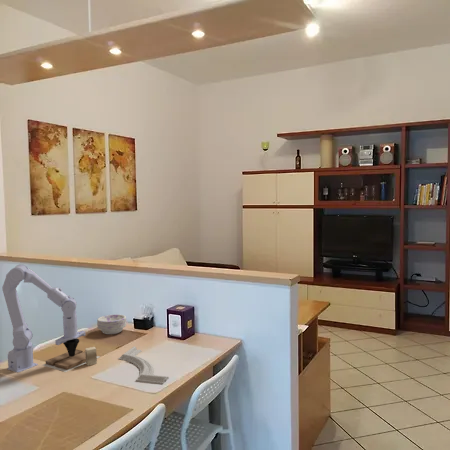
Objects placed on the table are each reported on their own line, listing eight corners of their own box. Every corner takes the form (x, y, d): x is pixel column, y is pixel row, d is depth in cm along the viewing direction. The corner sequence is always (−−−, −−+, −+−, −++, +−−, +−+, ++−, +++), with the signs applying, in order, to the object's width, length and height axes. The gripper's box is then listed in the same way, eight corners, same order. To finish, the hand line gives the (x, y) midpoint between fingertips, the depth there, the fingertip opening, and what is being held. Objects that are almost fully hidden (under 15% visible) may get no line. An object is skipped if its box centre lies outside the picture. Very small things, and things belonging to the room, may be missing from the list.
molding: (172, 383, 166) (172, 376, 166) (142, 390, 161) (142, 383, 160) (139, 350, 203) (138, 344, 203) (113, 355, 198) (113, 349, 197)
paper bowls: (118, 325, 242) (118, 312, 241) (131, 332, 230) (131, 317, 230) (93, 331, 232) (92, 317, 231) (105, 338, 220) (104, 323, 220)
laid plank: (53, 366, 184) (52, 362, 184) (45, 364, 187) (45, 360, 187) (82, 354, 198) (82, 350, 198) (75, 352, 200) (75, 349, 200)
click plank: (67, 369, 179) (66, 366, 179) (54, 366, 183) (54, 363, 183) (96, 357, 193) (96, 354, 193) (84, 354, 197) (84, 351, 197)
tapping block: (95, 362, 189) (96, 364, 186) (85, 364, 186) (87, 366, 184) (94, 346, 188) (96, 348, 185) (85, 348, 186) (86, 350, 183)
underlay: (65, 372, 178) (65, 371, 178) (41, 365, 186) (41, 365, 186) (100, 357, 194) (100, 356, 194) (77, 351, 202) (77, 351, 202)
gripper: (62, 331, 180) (64, 363, 181) (89, 322, 193) (90, 352, 194) (51, 329, 184) (53, 360, 185) (78, 320, 196) (80, 349, 197)
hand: (71, 355), depth 190 cm, fingers closed
